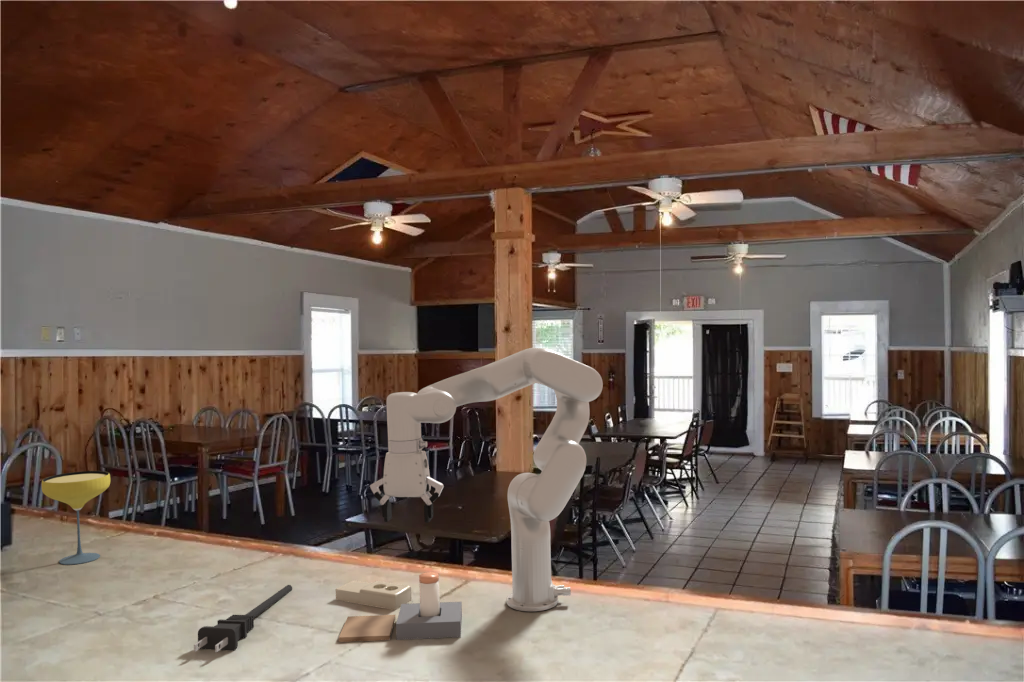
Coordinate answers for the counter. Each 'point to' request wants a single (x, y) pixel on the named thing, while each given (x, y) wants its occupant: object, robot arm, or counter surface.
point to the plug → (429, 594)
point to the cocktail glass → (76, 500)
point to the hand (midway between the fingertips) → (408, 520)
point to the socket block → (429, 622)
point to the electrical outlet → (375, 594)
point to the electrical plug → (233, 627)
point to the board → (367, 628)
